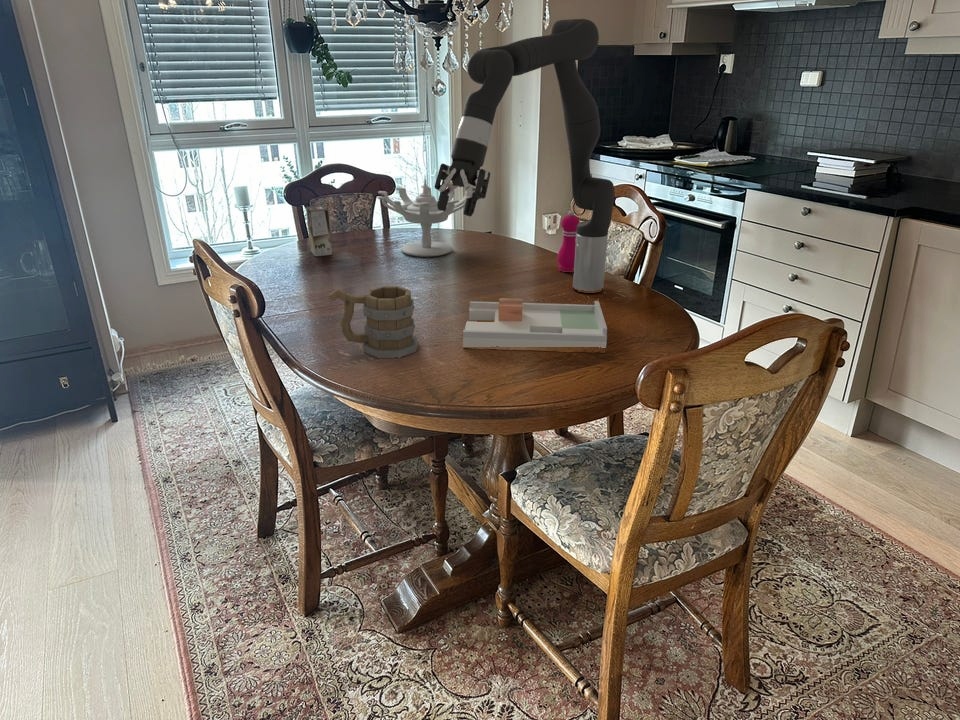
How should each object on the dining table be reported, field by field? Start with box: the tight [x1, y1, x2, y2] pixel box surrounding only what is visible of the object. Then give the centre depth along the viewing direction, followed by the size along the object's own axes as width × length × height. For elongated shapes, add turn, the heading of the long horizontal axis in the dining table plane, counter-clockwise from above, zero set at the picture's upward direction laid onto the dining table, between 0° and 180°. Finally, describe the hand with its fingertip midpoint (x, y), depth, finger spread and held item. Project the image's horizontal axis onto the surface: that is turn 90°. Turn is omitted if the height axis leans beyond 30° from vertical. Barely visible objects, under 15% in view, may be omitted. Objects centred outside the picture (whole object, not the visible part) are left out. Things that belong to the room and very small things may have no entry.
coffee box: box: [305, 205, 333, 257], centre depth 234 cm, size 9×6×16 cm
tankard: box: [328, 285, 419, 359], centre depth 155 cm, size 20×13×15 cm, turn 92°
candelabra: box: [377, 177, 469, 258], centre depth 234 cm, size 34×35×27 cm
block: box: [498, 297, 524, 321], centre depth 169 cm, size 6×6×4 cm
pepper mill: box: [557, 210, 581, 271], centre depth 215 cm, size 7×7×20 cm
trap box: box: [462, 300, 608, 349], centre depth 165 cm, size 22×34×6 cm, turn 86°
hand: (453, 212), depth 150 cm, fingers open, 8 cm apart
